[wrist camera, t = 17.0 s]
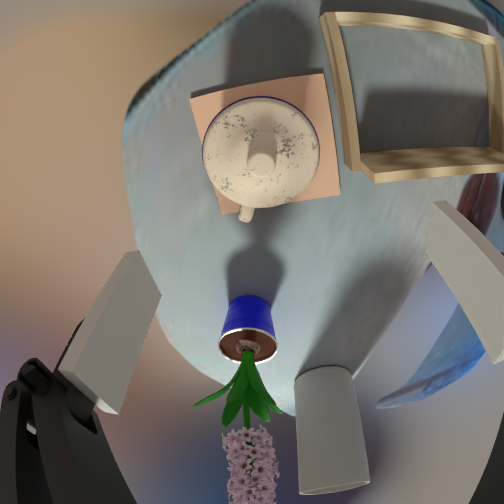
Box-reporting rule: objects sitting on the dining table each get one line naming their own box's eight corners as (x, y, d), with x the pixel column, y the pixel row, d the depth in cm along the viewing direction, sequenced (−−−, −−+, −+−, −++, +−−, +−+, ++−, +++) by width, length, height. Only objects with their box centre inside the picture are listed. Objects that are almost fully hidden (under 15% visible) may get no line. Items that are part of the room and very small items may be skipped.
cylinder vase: (353, 359, 50) (376, 477, 29) (349, 387, 57) (364, 486, 36) (291, 369, 52) (297, 490, 31) (295, 396, 58) (301, 496, 37)
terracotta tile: (322, 73, 24) (323, 73, 24) (339, 192, 32) (340, 194, 31) (190, 98, 26) (189, 99, 25) (222, 212, 33) (222, 215, 33)
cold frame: (484, 38, 17) (518, 40, 11) (492, 153, 26) (524, 171, 20) (318, 18, 20) (335, 1, 15) (344, 163, 30) (364, 185, 24)
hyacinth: (222, 277, 39) (189, 511, 14) (288, 299, 41) (303, 515, 16) (204, 316, 43) (173, 509, 19) (264, 334, 45) (262, 517, 20)
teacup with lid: (226, 86, 25) (205, 86, 15) (313, 105, 26) (345, 118, 16) (207, 190, 31) (183, 245, 22) (285, 206, 32) (296, 266, 22)
